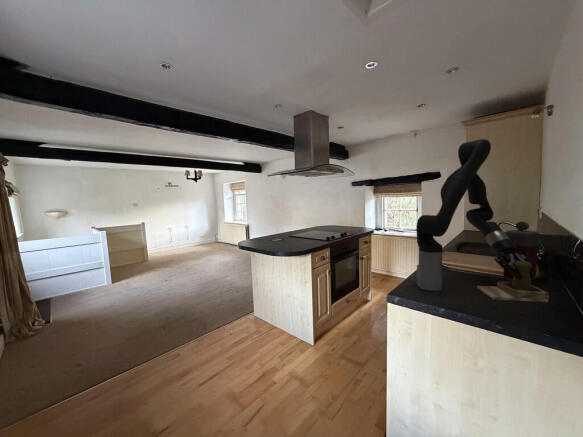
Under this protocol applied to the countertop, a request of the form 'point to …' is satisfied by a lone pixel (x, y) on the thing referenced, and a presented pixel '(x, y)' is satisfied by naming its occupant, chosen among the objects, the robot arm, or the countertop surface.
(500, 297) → the socket board
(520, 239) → the red coffee grinder
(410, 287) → the countertop surface
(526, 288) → the olive yellow waisted cylinder
